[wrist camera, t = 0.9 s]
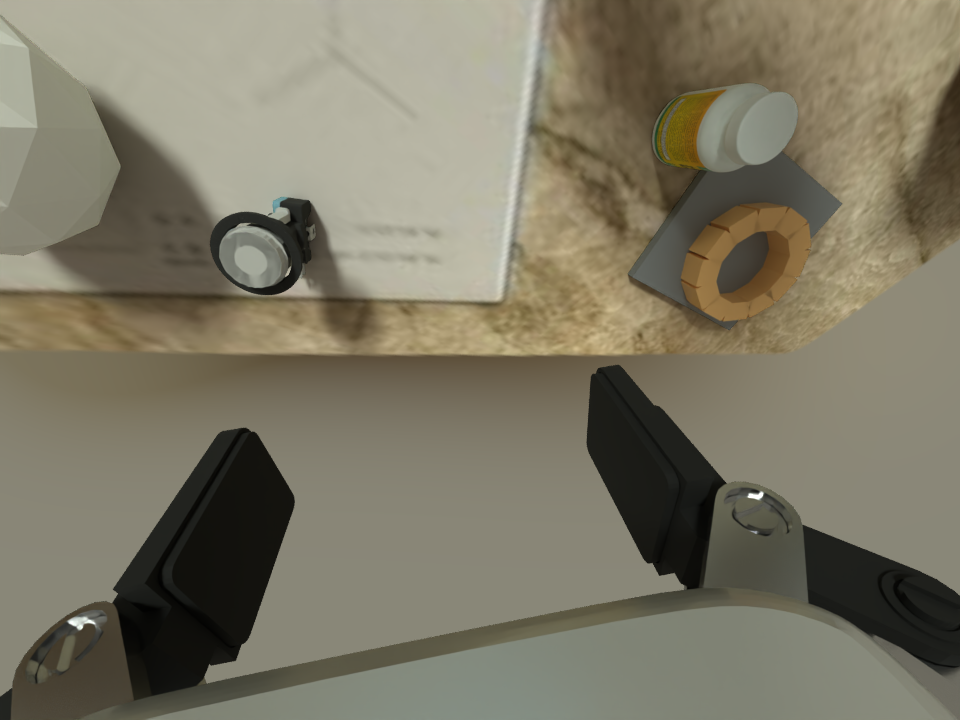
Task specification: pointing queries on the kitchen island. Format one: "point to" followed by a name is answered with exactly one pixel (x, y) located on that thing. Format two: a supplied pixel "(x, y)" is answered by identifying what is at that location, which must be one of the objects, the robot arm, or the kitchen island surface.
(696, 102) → the supplement bottle
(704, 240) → the collar
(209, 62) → the kitchen island surface
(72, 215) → the geodesic sphere
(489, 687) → the robot arm
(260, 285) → the push button
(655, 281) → the plate
